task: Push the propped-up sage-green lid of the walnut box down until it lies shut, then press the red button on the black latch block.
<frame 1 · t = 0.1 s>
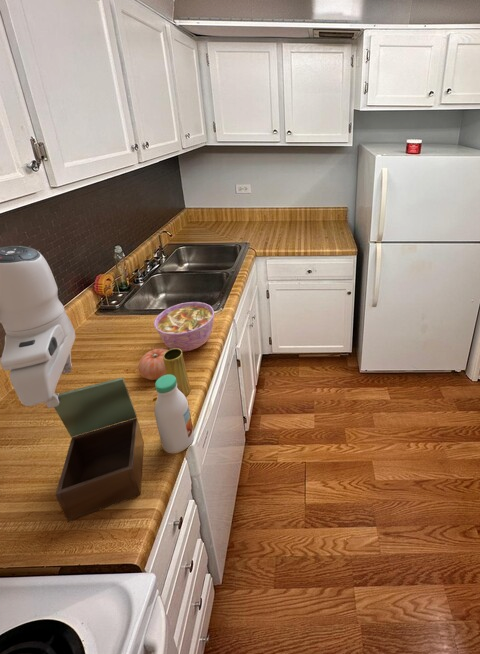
hand: (61, 386, 67), 27 cm above the counter, tool pointing down, fingers open, 8 cm apart
milk bottle: (178, 441, 86), on the counter
vase: (180, 392, 101), on the counter
orange pumpkin: (159, 373, 108), on the counter
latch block: (107, 400, 97), on the counter
bowl of food: (189, 343, 122), on the counter
box: (110, 478, 77), on the counter
button: (103, 389, 96), point 4 cm above the counter, slide at 0.2 cm
lid: (96, 407, 75), point 16 cm above the counter, hinge at 80.0°
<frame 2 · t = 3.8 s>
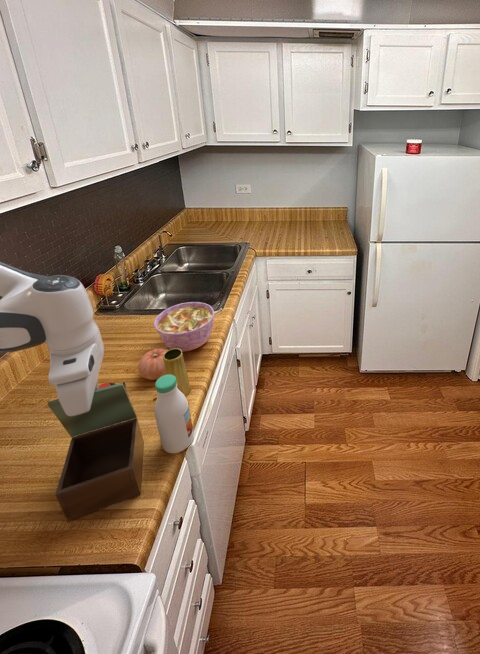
hand: (94, 397, 75), 19 cm above the counter, tool pointing down, fingers closed
lid: (96, 410, 75), point 16 cm above the counter, hinge at 74.5°, touching gripper
everything else where it was.
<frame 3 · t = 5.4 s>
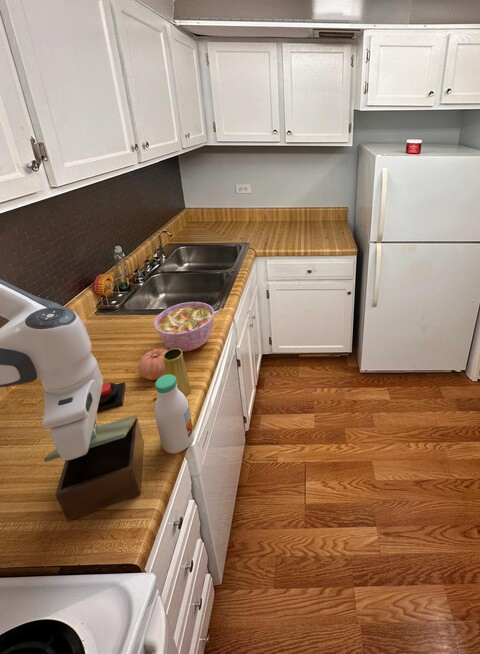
hand: (92, 433, 70), 15 cm above the counter, tool pointing down, fingers closed
lid: (96, 435, 72), point 13 cm above the counter, hinge at 32.5°, touching gripper
everything else where it was.
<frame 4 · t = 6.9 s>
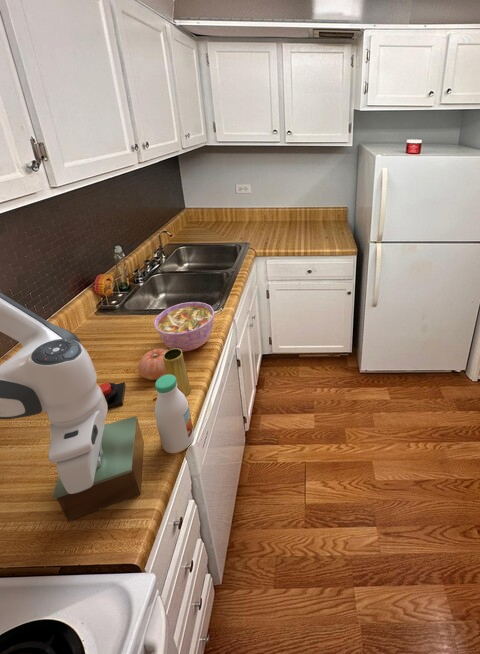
hand: (97, 461, 70), 10 cm above the counter, tool pointing down, fingers closed, pressing on lid
lid: (99, 452, 73), point 9 cm above the counter, hinge at 0.6°, touching gripper
everything else where it was.
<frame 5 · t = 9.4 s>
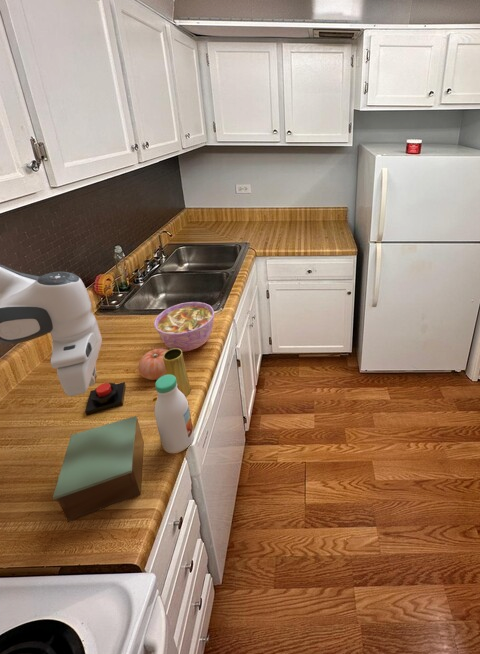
hand: (92, 381, 83), 16 cm above the counter, tool pointing down, fingers closed
lid: (99, 452, 73), point 9 cm above the counter, hinge at -0.2°, touching box
everything else where it was.
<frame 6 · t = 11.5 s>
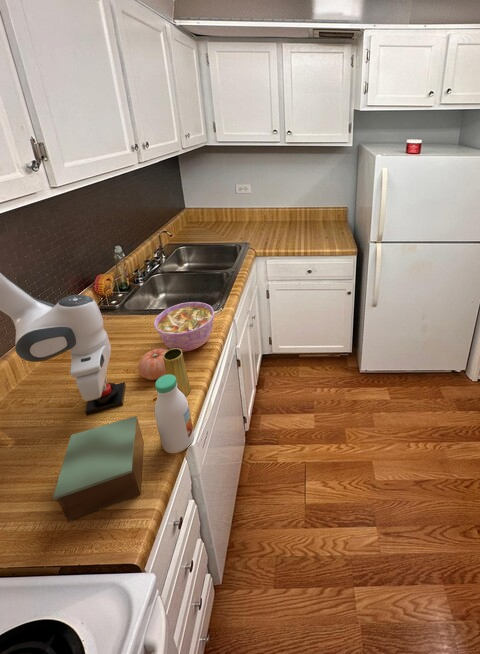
hand: (103, 387, 96), 5 cm above the counter, tool pointing down, fingers closed, pressing on button
button: (104, 390, 96), point 4 cm above the counter, slide at 0.0 cm, touching gripper
everything else where it was.
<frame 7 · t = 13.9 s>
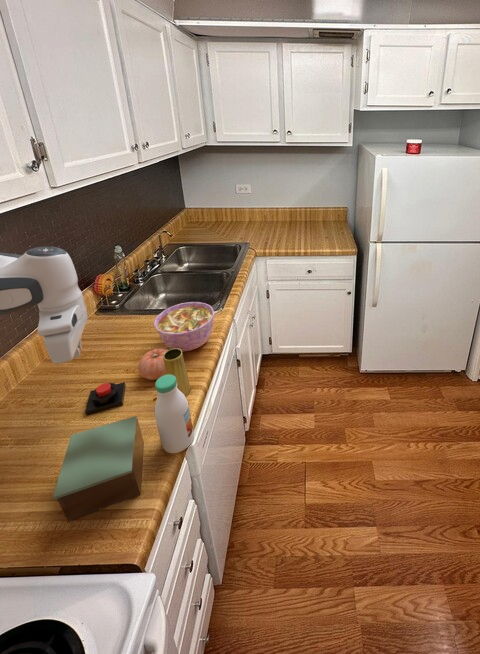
hand: (77, 354, 87), 20 cm above the counter, tool pointing down, fingers closed
button: (103, 389, 96), point 4 cm above the counter, slide at 0.1 cm
everything else where it was.
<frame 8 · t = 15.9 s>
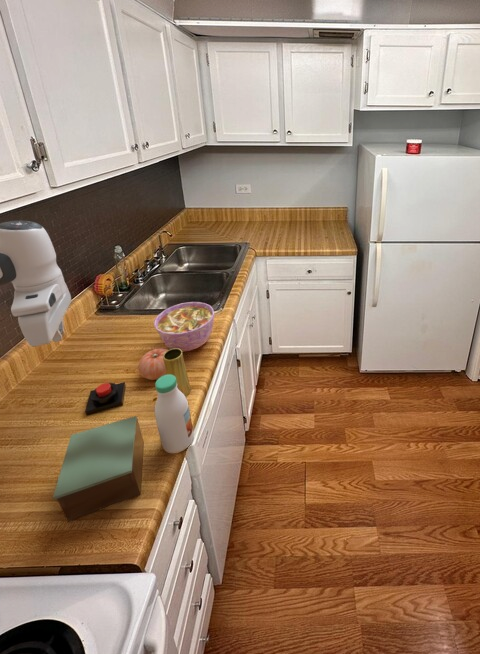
hand: (59, 338, 82), 27 cm above the counter, tool pointing down, fingers closed
nothing on the counter moved.
at the end: lid at +0° (first picture: +80°); button pushed in 1.0 cm at the most during the clip, back to where it started at the end; button slide at 0.1 cm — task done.
